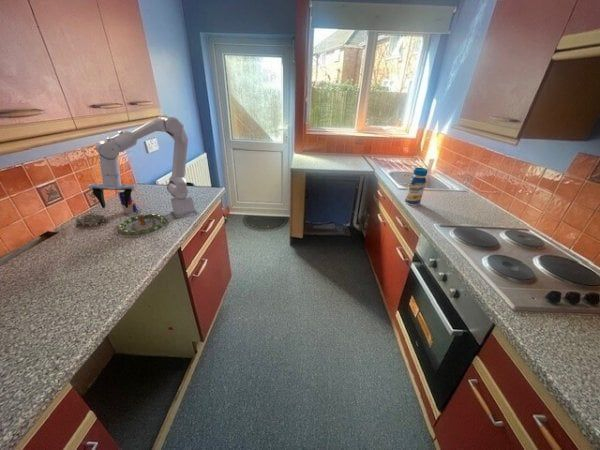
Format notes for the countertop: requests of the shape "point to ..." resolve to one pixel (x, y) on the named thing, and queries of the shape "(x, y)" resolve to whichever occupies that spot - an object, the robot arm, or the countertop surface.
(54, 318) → the countertop surface
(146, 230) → the ring
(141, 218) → the ring stand
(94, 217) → the egg carton
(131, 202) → the energy drink
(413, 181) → the beverage bottle
